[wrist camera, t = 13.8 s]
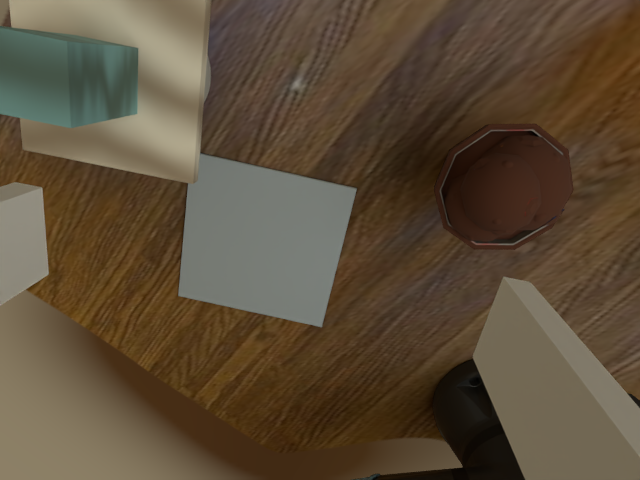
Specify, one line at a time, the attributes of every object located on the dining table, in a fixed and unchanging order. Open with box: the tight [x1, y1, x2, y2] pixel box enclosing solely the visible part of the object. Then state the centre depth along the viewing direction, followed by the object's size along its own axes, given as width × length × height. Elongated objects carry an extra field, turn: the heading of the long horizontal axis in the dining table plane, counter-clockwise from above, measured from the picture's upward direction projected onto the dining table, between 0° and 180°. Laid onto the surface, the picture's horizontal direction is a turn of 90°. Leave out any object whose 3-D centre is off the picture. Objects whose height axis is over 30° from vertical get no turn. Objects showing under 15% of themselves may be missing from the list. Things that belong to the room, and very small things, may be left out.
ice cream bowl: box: [434, 124, 573, 250], centre depth 36 cm, size 11×11×15 cm
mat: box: [178, 153, 357, 327], centre depth 48 cm, size 18×18×1 cm
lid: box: [0, 0, 211, 184], centre depth 30 cm, size 15×15×10 cm
